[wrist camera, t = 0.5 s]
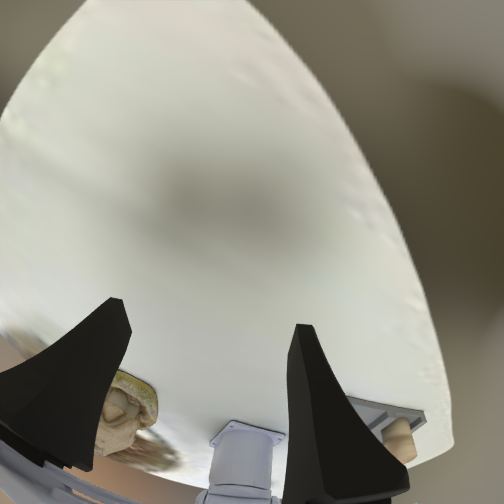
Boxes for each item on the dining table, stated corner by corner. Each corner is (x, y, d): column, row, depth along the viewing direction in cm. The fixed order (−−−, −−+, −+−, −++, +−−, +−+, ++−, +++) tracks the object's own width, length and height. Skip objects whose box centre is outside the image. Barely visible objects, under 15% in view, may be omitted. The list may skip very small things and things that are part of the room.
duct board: (371, 448, 34) (374, 468, 30) (293, 437, 32) (293, 461, 29) (423, 411, 29) (430, 433, 26) (345, 396, 28) (350, 424, 24)
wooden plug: (393, 433, 30) (401, 466, 25) (374, 431, 30) (381, 467, 24) (413, 418, 28) (423, 453, 23) (394, 416, 28) (404, 453, 23)
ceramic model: (151, 430, 36) (133, 480, 27) (88, 399, 34) (64, 445, 25) (170, 391, 30) (146, 460, 21) (89, 350, 29) (50, 409, 20)
